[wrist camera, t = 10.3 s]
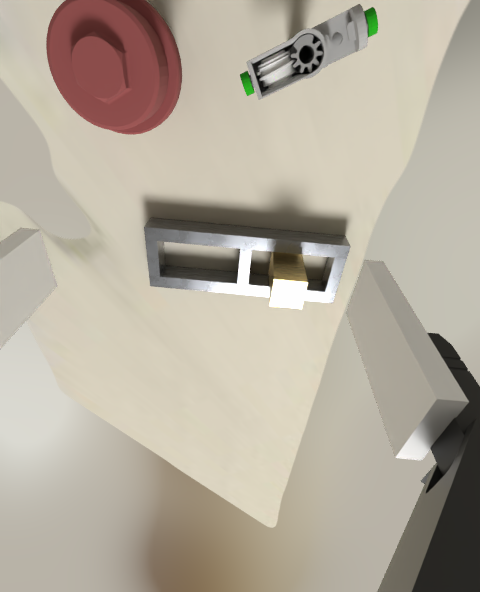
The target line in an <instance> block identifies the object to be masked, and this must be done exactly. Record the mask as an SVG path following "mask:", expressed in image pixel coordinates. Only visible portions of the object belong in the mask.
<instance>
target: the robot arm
mask: <svg viewBox="0 0 480 592" xmlns="http://www.w3.org/2000/svg"><path fill="white" fill-rule="evenodd" d="M57 286H58V285H57V282H56V279H55V276H54V273H53V269H52V266H51V263H50V260H49V257H48V253H47V250H46V247H45V244H44V241H43V238H42V234H41V231H40V230H39V229H29V228H20V229H19V230H17V231H16V232H14V233H13V234H11V235H10V236H8V237H7V238H6V239H4V240H3V241H1V242H0V349H1V348H2V347H3V346H4V345H5V344H6V342H7V341H8V340H9V339H10V338H11V337H12V336H13V335H14V334H15V333H16V331H17V330H18V329H19V328H20V327H21V326H22V325H23V324H24V322H25V321H26V320H27V319H28V318H29V317H30V316H31V315H32V314H33V313H34V312H35V310H36V309H37V308H38V307H39V306H40V305H41V304H42V303H43V302H44V300H45V299H46V298H47V297H48V296H49V295H50V294H51V293H52V292H53V291H54V289H55V288H56V287H57ZM346 314H347V317H348V319H349V323H350V326H351V328H352V331H353V335H354V338H355V340H356V343H357V346H358V349H359V352H360V355H361V358H362V361H363V364H364V367H365V370H366V373H367V376H368V379H369V382H370V385H371V388H372V390H373V393H374V397H375V400H376V403H377V405H378V408H379V411H380V414H381V417H382V420H383V423H384V426H385V429H386V432H387V435H388V438H389V441H390V443H391V447H392V450H393V453H394V456H395V458H402V459H413V460H422V459H423V458H424V457H425V456H426V454H427V453H428V452H429V451H430V449H431V450H432V453H433V455H434V457H435V460H436V462H437V463H436V464H435V465H434V466H433V468H432V469H431V470H430V471H429V472H428V473H427V474H426V476H425V477H424V478H423V479H422V480H421V482H423V483H424V484H425V485H424V487H423V490H422V492H421V494H420V496H419V499H418V501H417V503H416V505H415V508H414V510H413V512H412V515H411V517H410V519H409V521H408V524H407V526H406V528H405V530H404V533H403V535H402V537H401V540H400V542H399V544H398V546H397V549H396V551H395V553H394V555H393V558H392V560H391V562H390V564H389V567H388V569H387V571H386V574H385V576H384V578H383V580H382V583H381V585H380V587H379V589H378V592H480V386H479V385H478V383H477V382H476V380H475V379H474V377H473V376H472V374H471V373H470V371H467V367H466V366H465V364H464V363H463V361H461V360H460V357H459V355H458V354H457V352H456V351H455V349H454V348H453V346H452V345H451V344H450V343H448V342H447V341H446V340H445V339H444V338H443V337H442V336H440V335H439V334H435V333H427V332H426V331H425V329H424V327H423V326H422V324H421V322H420V321H419V319H418V318H417V316H416V314H415V313H414V311H413V309H412V308H411V306H410V304H409V303H408V301H407V299H406V298H405V296H404V294H403V293H402V291H401V290H400V288H399V286H398V285H397V283H396V281H395V280H394V278H393V276H392V275H391V273H390V271H389V270H388V268H387V267H386V265H385V263H384V262H383V261H372V260H364V263H363V266H362V269H361V271H360V274H359V277H358V280H357V283H356V286H355V289H354V291H353V294H352V297H351V300H350V303H349V306H348V309H347V311H346Z"/></svg>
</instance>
